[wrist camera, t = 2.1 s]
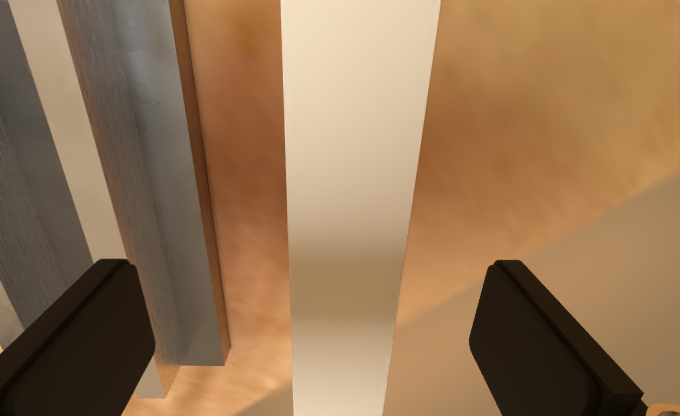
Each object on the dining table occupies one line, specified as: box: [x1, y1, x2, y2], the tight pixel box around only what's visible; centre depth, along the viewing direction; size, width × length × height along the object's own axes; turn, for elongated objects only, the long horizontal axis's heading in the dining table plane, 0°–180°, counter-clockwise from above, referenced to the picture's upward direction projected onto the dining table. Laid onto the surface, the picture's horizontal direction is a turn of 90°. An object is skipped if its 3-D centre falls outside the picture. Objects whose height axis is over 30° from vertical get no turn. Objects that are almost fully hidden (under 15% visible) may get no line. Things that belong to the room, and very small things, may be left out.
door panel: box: [281, 0, 441, 416], centre depth 14 cm, size 3×14×10 cm, turn 178°
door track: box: [0, 0, 230, 398], centre depth 16 cm, size 12×26×4 cm, turn 178°
